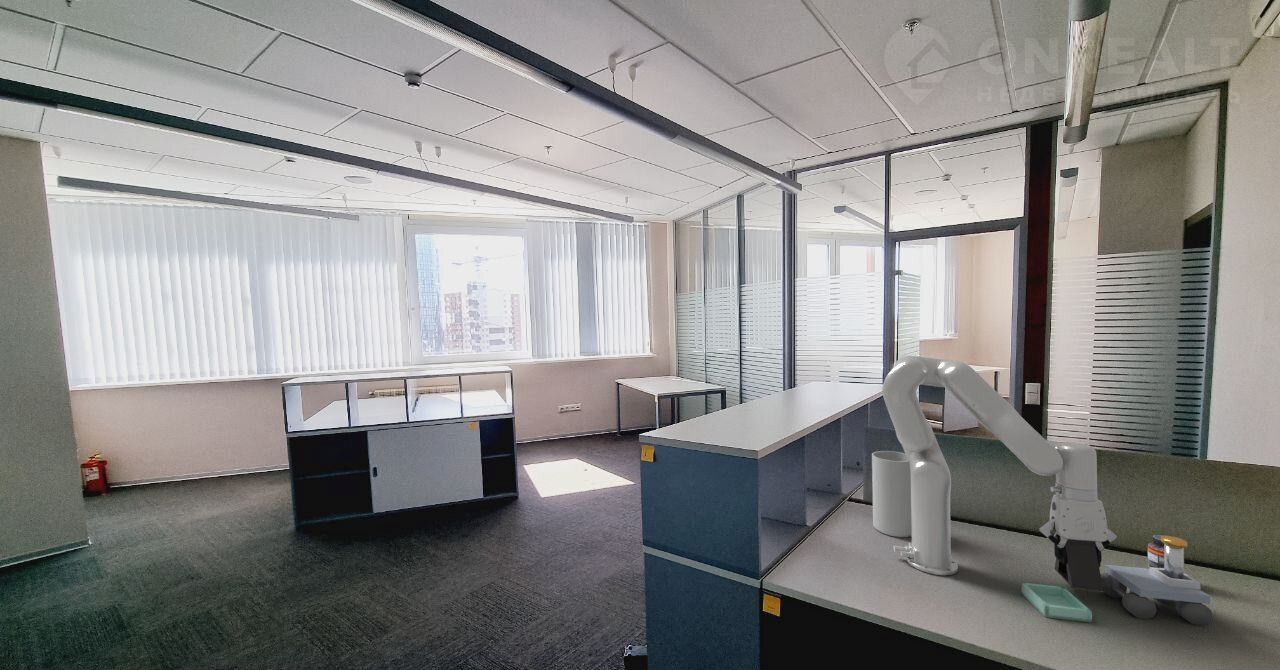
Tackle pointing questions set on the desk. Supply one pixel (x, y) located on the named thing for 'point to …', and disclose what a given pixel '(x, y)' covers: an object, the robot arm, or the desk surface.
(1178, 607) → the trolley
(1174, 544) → the pin
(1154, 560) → the supplement bottle
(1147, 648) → the desk surface
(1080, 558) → the phone stand
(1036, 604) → the tray
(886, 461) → the cylinder vase
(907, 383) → the robot arm
